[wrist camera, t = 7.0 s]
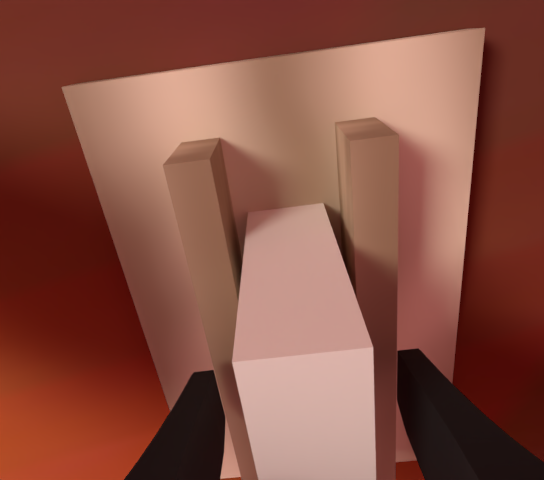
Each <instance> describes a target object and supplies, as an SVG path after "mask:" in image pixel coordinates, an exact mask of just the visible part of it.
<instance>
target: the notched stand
mask: <svg viewBox="0 0 544 480" xmlns="http://www.w3.org/2000/svg"><path fill="white" fill-rule="evenodd" d="M484 35H485V28H473V29H463V30H456V31H449V32H442V33H435V34H428V35H420V36H413V37H406V38H399V39H392V40H385V41H378V42H370V43H363V44H356V45H349V46H342V47H335V48H328V49H320V50H313V51H306V52H299V53H292V54H285V55H278V56H270V57H263V58H256V59H249V60H242V61H235V62H228V63H220V64H213V65H206V66H199V67H192V68H185V69H178V70H170V71H163V72H156V73H149V74H142V75H135V76H128V77H120V78H113V79H106V80H99V81H92V82H85V83H77V84H73V85H68V86H64V87H62V90H63V93H64V96H65V99H66V102H67V105H68V108H69V111H70V114H71V117H72V120H73V123H74V126H75V129H76V132H77V135H78V138H79V141H80V144H81V147H82V150H83V153H84V156H85V159H86V162H87V164H88V167H89V170H90V173H91V176H92V179H93V182H94V185H95V188H96V191H97V194H98V197H99V200H100V203H101V206H102V209H103V212H104V215H105V218H106V221H107V224H108V227H109V230H110V233H111V236H112V239H113V242H114V245H115V248H116V251H117V254H118V257H119V260H120V263H121V266H122V269H123V272H124V275H125V278H126V281H127V284H128V287H129V290H130V293H131V296H132V299H133V302H134V305H135V308H136V311H137V314H138V317H139V320H140V323H141V326H142V329H143V332H144V335H145V338H146V341H147V344H148V347H149V350H150V353H151V356H152V359H153V362H154V365H155V368H156V371H157V374H158V377H159V380H160V383H161V386H162V389H163V392H164V395H165V398H166V401H167V404H168V407H169V410H170V412H171V410H172V408H173V406H174V405H175V403H176V401H177V400H178V398H179V396H180V394H181V393H182V391H183V389H184V387H185V386H186V384H187V382H188V380H189V378H190V376H191V375H192V374H193V373H194V372H199V371H209V370H214V374H215V378H216V382H217V386H218V389H219V393H220V397H221V401H222V405H223V409H224V413H225V417H226V418H225V444H224V456H223V463H222V470H221V476H220V479H222V478H233V477H241V479H242V480H258V476H257V472H256V467H255V463H254V458H253V454H252V449H251V445H250V440H249V436H248V431H247V427H246V423H245V418H244V414H243V409H242V405H241V400H240V396H239V391H238V387H237V382H236V378H235V373H234V369H233V364H232V358H233V349H234V339H235V330H236V320H237V311H238V302H239V292H240V283H241V273H242V264H243V255H244V245H245V236H246V226H247V217H248V212H254V211H262V210H271V209H279V208H287V207H295V206H303V205H311V204H319V203H323V204H324V207H325V209H326V212H327V215H328V218H329V221H330V224H331V227H332V230H333V233H334V235H335V238H336V241H337V244H338V247H339V250H340V253H341V256H342V259H343V261H344V264H345V267H346V270H347V273H348V276H349V279H350V282H351V285H352V287H353V290H354V293H355V296H356V299H357V302H358V305H359V308H360V311H361V313H362V316H363V319H364V322H365V325H366V328H367V331H368V334H369V337H370V339H371V342H372V345H373V360H374V405H375V450H376V480H396V462H404V461H414V460H417V459H416V456H415V454H414V451H413V449H412V446H411V444H410V441H409V439H408V436H407V434H406V431H405V427H404V424H403V420H402V417H401V413H400V410H399V406H398V403H397V351H398V350H407V349H416V348H418V349H420V350H421V351H422V352H423V353H424V354H425V355H426V357H427V358H428V359H429V360H430V361H431V362H432V363H433V364H434V365H435V366H436V367H437V368H438V369H439V371H440V372H441V373H442V374H443V375H444V376H445V377H446V378H447V379H448V380H449V381H450V382H451V383H452V382H453V371H454V360H455V349H456V338H457V328H458V317H459V306H460V295H461V284H462V273H463V263H464V252H465V241H466V230H467V219H468V208H469V198H470V187H471V176H472V165H473V154H474V143H475V132H476V122H477V111H478V100H479V89H480V78H481V67H482V57H483V46H484Z"/></svg>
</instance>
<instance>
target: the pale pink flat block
mask: <svg viewBox="0 0 544 480" xmlns="http://www.w3.org/2000/svg"><path fill="white" fill-rule="evenodd" d="M232 364H233V369H234V373H235V378H236V382H237V387H238V391H239V396H240V400H241V405H242V409H243V414H244V418H245V423H246V427H247V431H248V436H249V440H250V445H251V449H252V454H253V458H254V463H255V467H256V472H257V476H258V480H376V450H375V405H374V360H373V345H372V342H371V339H370V337H369V334H368V331H367V328H366V325H365V322H364V319H363V316H362V313H361V311H360V308H359V305H358V302H357V299H356V296H355V293H354V290H353V287H352V285H351V282H350V279H349V276H348V273H347V270H346V267H345V264H344V261H343V259H342V256H341V253H340V250H339V247H338V244H337V241H336V238H335V235H334V233H333V230H332V227H331V224H330V221H329V218H328V215H327V212H326V209H325V207H324V204H323V203H319V204H311V205H303V206H295V207H287V208H279V209H271V210H262V211H254V212H248V217H247V226H246V236H245V245H244V255H243V264H242V273H241V283H240V292H239V302H238V311H237V320H236V330H235V339H234V349H233V358H232Z"/></svg>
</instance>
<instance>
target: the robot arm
mask: <svg viewBox="0 0 544 480" xmlns="http://www.w3.org/2000/svg"><path fill="white" fill-rule="evenodd" d="M397 403H398V406H399V410H400V413H401V417H402V420H403V424H404V427H405V431H406V434H407V436H408V439H409V441H410V444H411V446H412V449H413V451H414V454H415V456H416V459H417V461H418V464H419V466H420V468H421V471H422V473H423V476H424V478H425V480H544V462H542V461H541V460H540V459H538V458H537V457H536V456H534V455H533V454H532V453H530V452H529V451H528V450H527V449H525V448H524V447H523V446H521V445H520V444H519V443H518V442H516V441H515V440H514V439H513V438H511V437H510V436H509V435H508V434H507V433H505V432H504V431H503V430H502V429H501V428H499V427H498V426H497V425H496V424H495V423H494V422H493V421H491V420H490V419H489V418H488V417H487V416H486V415H485V414H483V413H482V412H481V411H480V410H479V409H478V408H477V407H476V406H475V405H474V404H473V403H472V402H471V401H470V400H468V399H467V398H466V397H465V396H464V395H463V394H462V393H461V392H460V391H459V390H458V389H457V388H456V387H455V386H454V385H453V384H452V383H451V382H450V381H449V380H448V379H447V378H446V377H445V376H444V375H443V374H442V373H441V372H440V371H439V369H438V368H437V367H436V366H435V365H434V364H433V363H432V362H431V361H430V360H429V359H428V358H427V357H426V355H425V354H424V353H423V352H422V351H421V350H420V349H418V348H416V349H407V350H398V351H397ZM225 418H226V417H225V413H224V409H223V405H222V401H221V397H220V393H219V389H218V386H217V382H216V378H215V374H214V370H209V371H199V372H194V373H193V374H192V375H191V376H190V378H189V380H188V382H187V384H186V386H185V387H184V389H183V391H182V393H181V394H180V396H179V398H178V400H177V401H176V403H175V405H174V406H173V408H172V410H171V412H170V413H169V415H168V416H167V418H166V420H165V421H164V423H163V424H162V426H161V428H160V429H159V431H158V432H157V434H156V435H155V437H154V438H153V440H152V441H151V443H150V444H149V446H148V447H147V448H146V450H145V451H144V453H143V454H142V456H141V457H140V459H139V460H138V461H137V463H136V464H135V466H134V467H133V468H132V470H131V471H130V472H129V474H128V475H127V476H126V477H125V479H124V480H220V476H221V470H222V463H223V456H224V444H225Z"/></svg>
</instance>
